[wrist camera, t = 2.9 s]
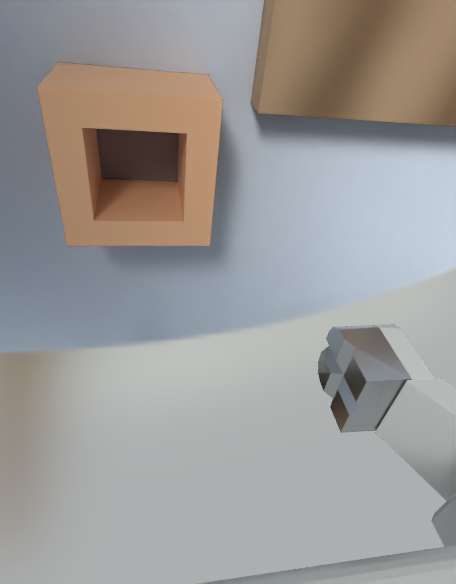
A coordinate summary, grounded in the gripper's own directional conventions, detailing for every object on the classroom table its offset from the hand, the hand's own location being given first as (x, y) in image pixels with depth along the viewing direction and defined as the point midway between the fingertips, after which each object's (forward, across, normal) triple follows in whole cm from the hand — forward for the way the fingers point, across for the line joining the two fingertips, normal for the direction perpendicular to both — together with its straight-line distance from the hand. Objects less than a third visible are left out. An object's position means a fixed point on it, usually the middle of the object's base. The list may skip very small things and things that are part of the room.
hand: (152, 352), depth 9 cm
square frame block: (+13, +1, 0) cm, 13 cm away
